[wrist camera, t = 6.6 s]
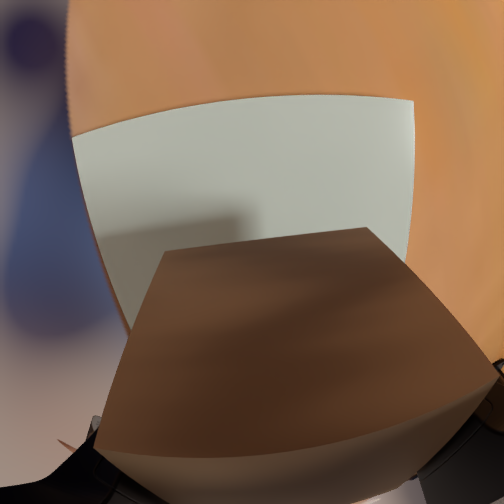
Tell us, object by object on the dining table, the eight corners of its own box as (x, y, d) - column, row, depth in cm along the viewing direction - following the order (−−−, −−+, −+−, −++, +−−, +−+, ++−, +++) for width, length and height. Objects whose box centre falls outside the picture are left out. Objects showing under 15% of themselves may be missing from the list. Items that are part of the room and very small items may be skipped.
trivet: (398, 101, 10) (413, 100, 9) (377, 339, 17) (384, 351, 15) (84, 134, 10) (71, 137, 9) (159, 368, 16) (156, 382, 15)
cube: (366, 226, 8) (499, 375, 3) (349, 362, 11) (397, 488, 5) (164, 250, 8) (93, 447, 3) (205, 382, 11) (201, 520, 5)
